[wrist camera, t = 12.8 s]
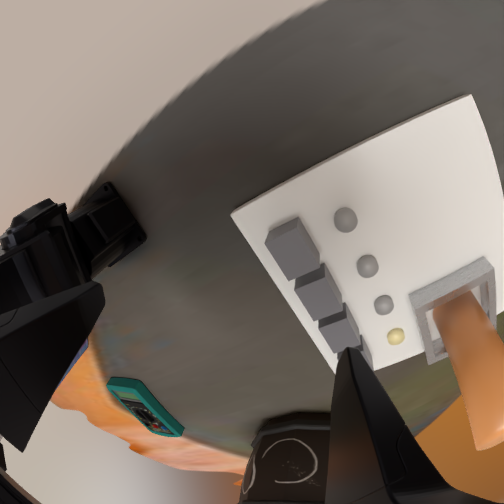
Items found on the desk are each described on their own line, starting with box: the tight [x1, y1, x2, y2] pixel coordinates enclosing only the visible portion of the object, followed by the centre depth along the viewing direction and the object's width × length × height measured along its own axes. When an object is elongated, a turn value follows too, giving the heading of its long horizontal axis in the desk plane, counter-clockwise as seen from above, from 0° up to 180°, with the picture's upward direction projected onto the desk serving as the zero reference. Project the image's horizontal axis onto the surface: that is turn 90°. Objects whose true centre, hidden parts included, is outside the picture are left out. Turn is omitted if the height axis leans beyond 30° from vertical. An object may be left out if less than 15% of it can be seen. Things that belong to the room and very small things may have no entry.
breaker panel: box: [230, 94, 504, 375], centre depth 19 cm, size 20×20×3 cm
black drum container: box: [238, 413, 331, 504], centre depth 28 cm, size 18×18×16 cm
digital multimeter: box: [106, 378, 184, 437], centre depth 39 cm, size 7×15×3 cm, turn 20°
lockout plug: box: [433, 290, 504, 450], centre depth 14 cm, size 4×4×13 cm
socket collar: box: [408, 256, 496, 365], centre depth 19 cm, size 8×8×2 cm
